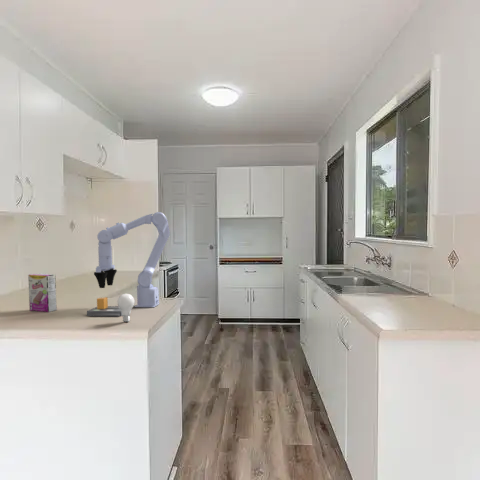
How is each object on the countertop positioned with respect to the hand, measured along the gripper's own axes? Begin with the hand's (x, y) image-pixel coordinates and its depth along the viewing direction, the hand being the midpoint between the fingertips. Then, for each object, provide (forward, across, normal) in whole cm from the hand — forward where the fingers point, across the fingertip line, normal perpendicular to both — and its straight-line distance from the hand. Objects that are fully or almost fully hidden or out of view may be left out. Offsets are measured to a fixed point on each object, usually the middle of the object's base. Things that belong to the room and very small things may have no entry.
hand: (106, 286), depth 176 cm
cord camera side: (+10, +16, +7) cm, 20 cm away
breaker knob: (+8, +10, +3) cm, 13 cm away
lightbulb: (+10, +25, +20) cm, 34 cm away
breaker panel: (+10, +10, +6) cm, 15 cm away
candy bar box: (+10, +6, -27) cm, 29 cm away
